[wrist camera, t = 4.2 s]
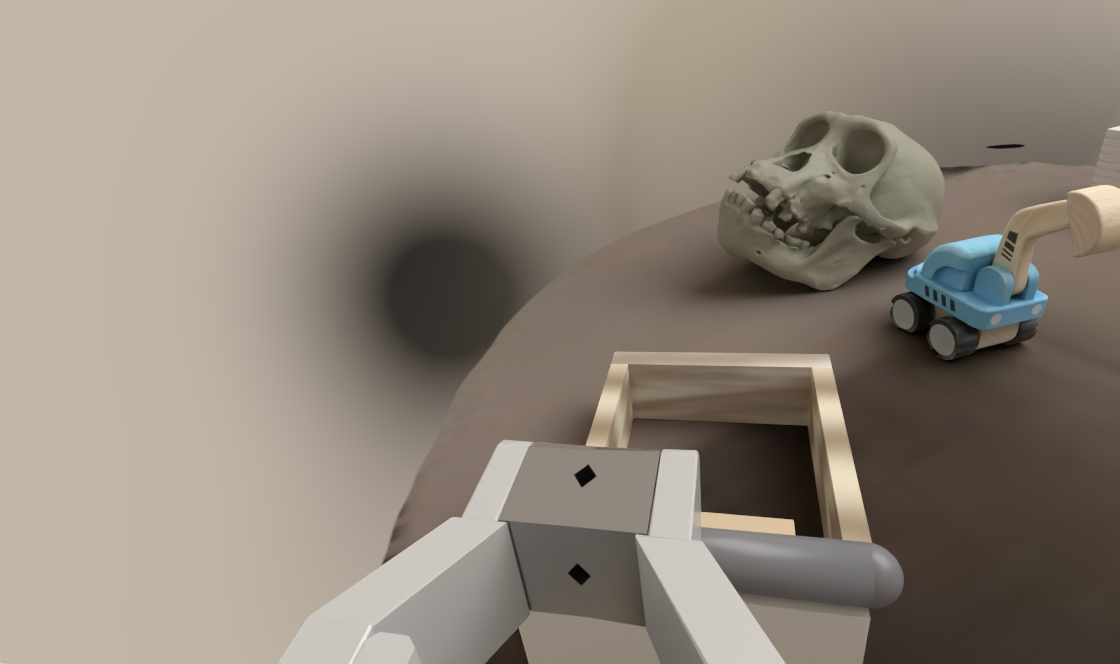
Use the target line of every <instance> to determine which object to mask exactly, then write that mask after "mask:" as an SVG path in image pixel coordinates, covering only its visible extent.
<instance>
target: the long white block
mask: <svg viewBox="0 0 1120 664" xmlns="http://www.w3.org/2000/svg"><path fill="white" fill-rule="evenodd" d="M1106 136H1107V138H1105V139H1104V143H1103V144H1105V145H1104V146H1102V149H1101V152H1103V153H1101V154H1100V156H1099V159H1100V161H1098V163H1097V166H1096V167H1098V168H1097V169H1095V173H1094V174H1096V176H1093V180H1092V182H1094V183H1091V186H1090V187H1094V186H1100V185H1110V186H1114V187H1116V188H1119V189H1120V126H1118V127H1115V128H1110V129H1107V132H1106Z"/></svg>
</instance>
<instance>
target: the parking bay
mask: <svg viewBox="0 0 1120 664" xmlns="http://www.w3.org/2000/svg"><path fill="white" fill-rule="evenodd" d="M634 418H641V419H665V420H688V421H712V422H735V423H759V424H782V425H806V426H808V433H809V439H810V446H811V453H812V460H813V466H814V473H815V480H816V487H817V494H818V500H819V507H820V514H821V521H822V527H823V534H824V538H828V539H839V540H850V541H861V542H869V543H872V541H871V537H870V532H869V528H868V524H867V519H866V515H865V510H864V506H863V502H862V497H861V493H860V488H859V484H858V480H857V475H856V471H855V467H854V462H853V458H852V453H851V449H850V445H849V440H848V436H847V432H846V427H845V423H844V418H843V414H842V410H841V405H840V401H839V396H838V392H837V388H836V383H835V379H834V375H833V370H832V366H831V361H830V357H829V354H765V353H679V352H615V353H614V357H613V360H612V363H611V366H610V369H609V373H608V376H607V379H606V382H605V385H604V388H603V392H602V395H601V398H600V401H599V404H598V408H597V411H596V414H595V417H594V420H593V423H592V427H591V430H590V433H589V436H588V439H587V443H586V446H595V447H615V448H627V445H628V441H629V436H630V432H631V427H632V423H633V419H634Z"/></svg>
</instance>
